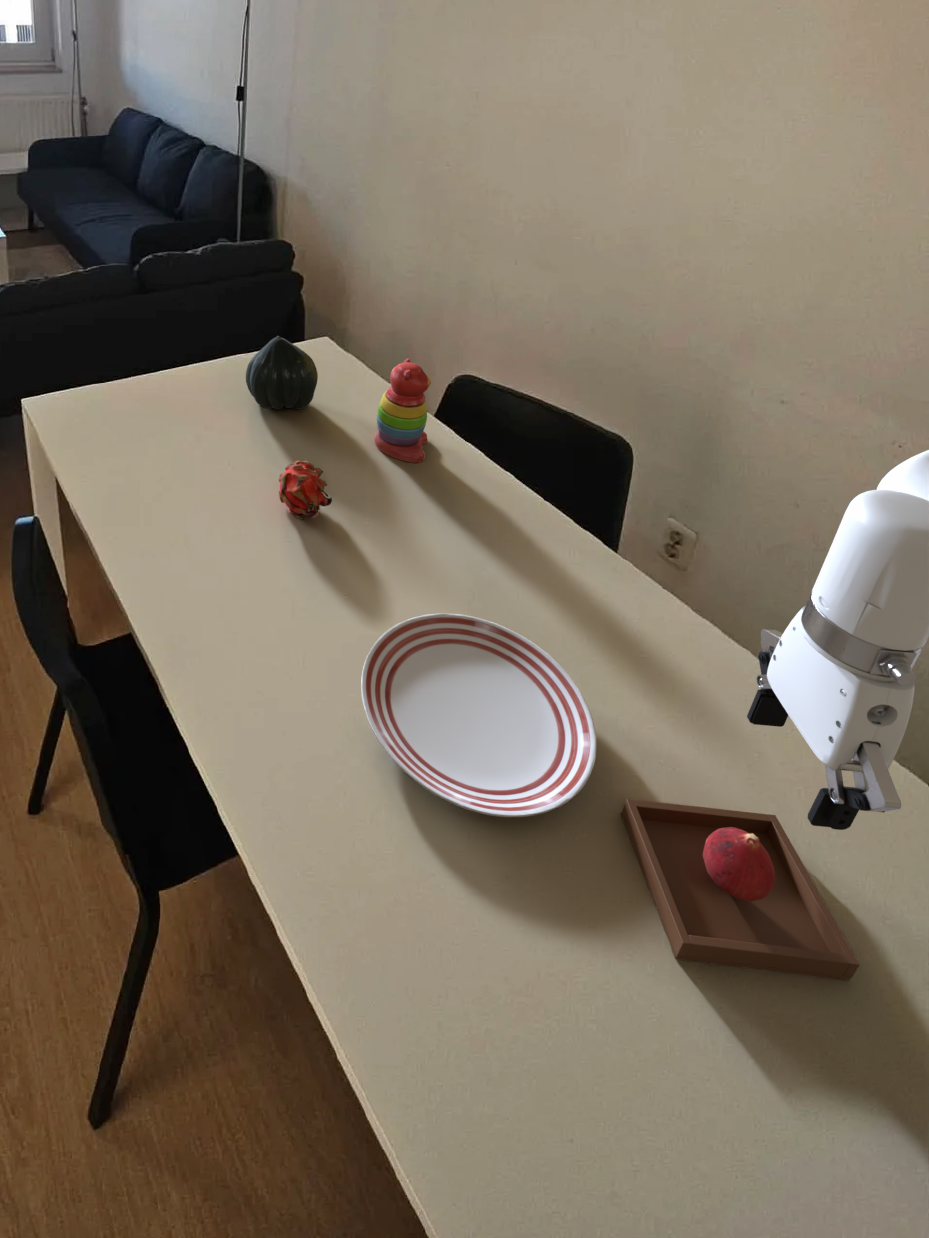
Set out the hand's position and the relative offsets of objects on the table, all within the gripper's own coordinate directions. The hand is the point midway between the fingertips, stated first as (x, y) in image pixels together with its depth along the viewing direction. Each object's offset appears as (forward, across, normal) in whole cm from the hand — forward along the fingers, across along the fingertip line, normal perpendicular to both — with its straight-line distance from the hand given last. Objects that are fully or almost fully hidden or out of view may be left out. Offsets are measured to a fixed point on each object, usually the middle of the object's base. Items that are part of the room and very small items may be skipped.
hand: (793, 769), depth 70 cm
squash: (+17, +90, +49) cm, 104 cm away
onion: (+18, 0, +1) cm, 18 cm away
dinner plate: (+18, +17, +23) cm, 34 cm away
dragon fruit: (+17, +55, +44) cm, 73 cm away
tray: (+18, 0, +1) cm, 18 cm away
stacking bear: (+18, +77, +25) cm, 83 cm away
